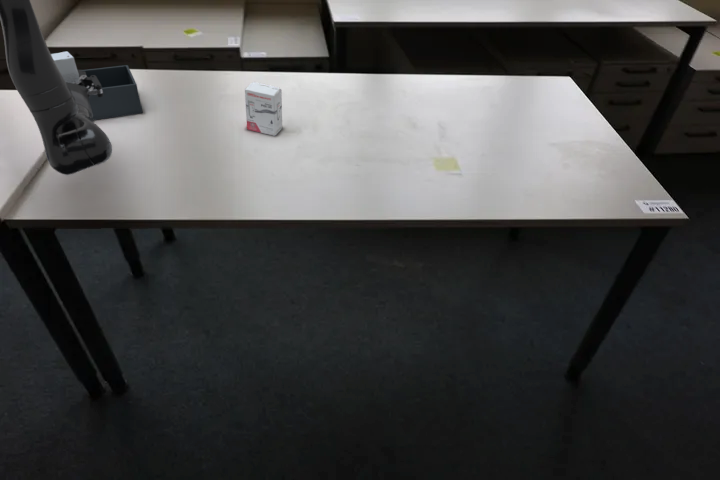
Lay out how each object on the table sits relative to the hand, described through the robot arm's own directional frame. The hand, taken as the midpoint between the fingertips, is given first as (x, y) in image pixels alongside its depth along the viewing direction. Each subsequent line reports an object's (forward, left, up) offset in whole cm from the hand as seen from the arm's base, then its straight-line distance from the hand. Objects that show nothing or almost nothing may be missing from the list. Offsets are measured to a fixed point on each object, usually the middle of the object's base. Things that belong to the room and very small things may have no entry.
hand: (62, 75), depth 113 cm
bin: (+9, +21, -19) cm, 30 cm away
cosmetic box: (0, -2, -7) cm, 7 cm away
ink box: (+44, -5, -19) cm, 48 cm away
